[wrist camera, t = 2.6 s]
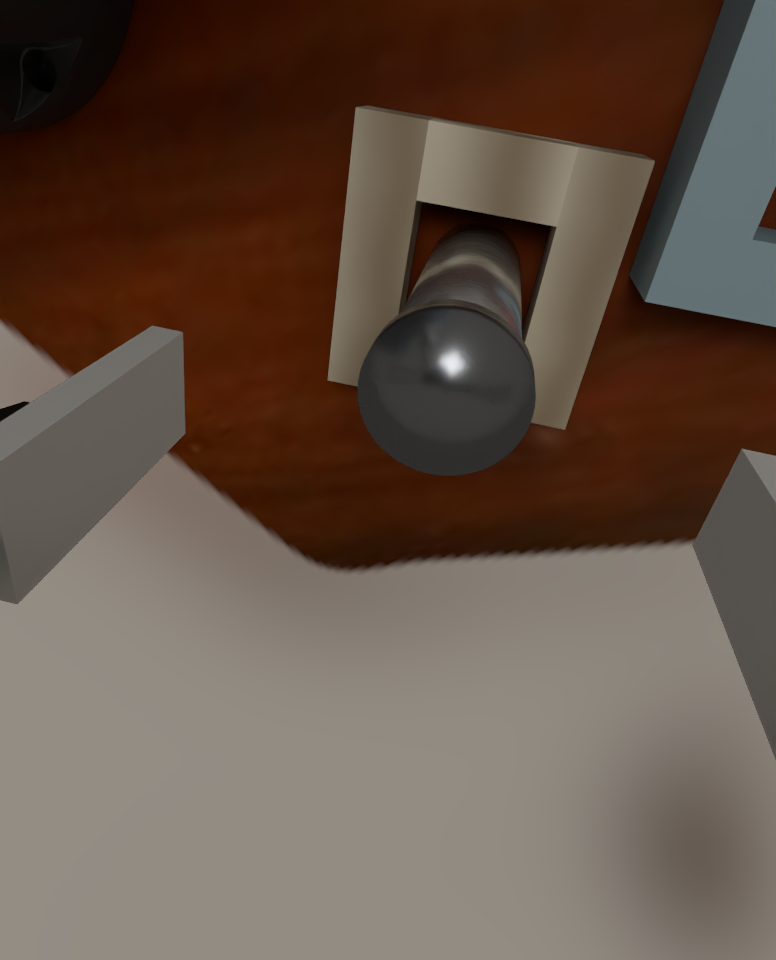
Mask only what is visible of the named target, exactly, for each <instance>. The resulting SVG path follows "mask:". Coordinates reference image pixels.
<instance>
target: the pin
mask: <svg viewBox="0 0 776 960" xmlns="http://www.w3.org/2000/svg"><path fill="white" fill-rule="evenodd" d="M357 394H358V404H359V409H360V413H361V416H362V418H363V421H364V424H365V425H366V427H367V429H368V431H369V433H370V434H371V436H372V437H373V439H374V440H375V441H376V442H377V444H378V445H379V446H380V447H381V448H382V449H383V450H384V451H385V452H386V453H388V454H389V455H390V456H391V457H393V458H394V459H395V460H397V461H398V462H400V463H402V464H404V465H406V466H408V467H410V468H412V469H415V470H417V471H421V472H424V473H428V474H434V475H443V476H455V475H464V474H470V473H474V472H477V471H480V470H483V469H485V468H488V467H490V466H492V465H494V464H495V463H497V462H499V461H500V460H502V459H503V458H504V457H506V456H507V455H508V454H509V453H510V452H511V451H512V450H513V449H514V448H515V447H516V446H517V445H518V444H519V443H520V441H521V440H522V439H523V437H524V435H525V434H526V432H527V430H528V428H529V426H530V423H531V420H532V418H533V414H534V409H535V401H536V391H535V376H534V367H533V362H532V358H531V356H530V353H529V350H528V348H527V346H526V344H525V343H524V341H523V339H522V313H521V274H520V258H519V254H518V251H517V248H516V246H515V244H514V242H513V241H512V240H511V238H510V237H509V236H508V235H507V234H506V233H505V232H504V231H503V230H501V229H500V228H498V227H496V226H494V225H492V224H489V223H485V222H467V223H463V224H460V225H458V226H456V227H454V228H452V229H450V230H449V231H448V232H446V233H445V234H444V235H443V236H442V237H441V238H440V240H439V241H438V242H437V244H436V246H435V247H434V249H433V251H432V253H431V255H430V257H429V259H428V261H427V263H426V265H425V267H424V269H423V271H422V273H421V275H420V277H419V279H418V281H417V283H416V285H415V287H414V289H413V291H412V293H411V295H410V296H409V298H408V300H407V302H406V304H405V306H404V308H403V310H402V312H401V313H400V314H399V315H397V316H396V317H395V318H393V319H392V320H391V321H390V322H389V323H388V324H387V325H386V326H385V327H384V328H383V329H382V330H381V332H380V333H379V335H378V336H377V337H376V339H375V341H374V343H373V344H372V346H371V348H370V350H369V352H368V353H367V355H366V357H365V359H364V361H363V364H362V367H361V370H360V374H359V379H358V389H357Z"/></svg>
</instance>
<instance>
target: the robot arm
mask: <svg viewBox="0 0 776 960" xmlns="http://www.w3.org/2000/svg"><path fill="white" fill-rule="evenodd" d="M132 5H133V0H0V134H4V133H16V132H25V131H32V130H36V129H40V128H44V127H47V126H49V125H52V124H55V123H57V122H59V121H61V120H63V119H64V118H66V117H68V116H69V115H71V114H73V113H74V112H75V111H76V110H78V109H79V108H80V107H82V106H83V105H84V104H85V103H86V102H87V101H88V100H89V99H90V98H91V97H92V96H93V95H94V93H95V92H96V91H97V90H98V89H99V87H100V86H101V85H102V83H103V82H104V80H105V79H106V77H107V76H108V74H109V72H110V70H111V69H112V67H113V65H114V63H115V61H116V59H117V57H118V54H119V52H120V49H121V47H122V44H123V41H124V38H125V35H126V32H127V28H128V25H129V20H130V16H131V11H132ZM184 434H185V400H184V358H183V332H180V331H175V330H170V329H165V328H161V327H156V326H151V327H150V328H148V329H146V330H145V331H143V332H142V333H140V334H138V335H137V336H135V337H134V338H132V339H131V340H129V341H127V342H126V343H124V344H123V345H121V346H119V347H118V348H116V349H115V350H113V351H112V352H110V353H108V354H107V355H105V356H104V357H102V358H100V359H99V360H97V361H96V362H94V363H93V364H91V365H89V366H88V367H86V368H85V369H83V370H81V371H80V372H78V373H77V374H75V375H74V376H72V377H70V378H69V379H67V380H66V381H64V382H63V383H61V384H59V385H58V386H56V387H55V388H53V389H51V390H50V391H48V392H47V393H45V394H44V395H42V396H40V397H39V398H37V399H36V400H34V401H33V402H31V403H29V402H21V403H18V404H15V405H12V406H9V407H6V408H2V409H0V600H2V601H6V602H10V603H14V604H18V603H19V602H20V601H21V600H22V599H23V598H24V597H25V596H26V595H27V594H28V593H29V592H30V591H31V590H32V589H33V588H34V587H35V586H36V585H37V584H38V583H39V582H40V581H41V580H42V579H43V578H44V577H45V576H46V575H47V574H48V573H49V572H50V571H51V570H52V569H53V568H54V566H55V565H57V564H58V563H59V561H60V560H61V559H62V558H63V557H64V556H65V555H66V554H67V553H68V552H69V551H70V550H71V549H72V548H73V547H74V546H75V545H76V544H77V543H78V542H79V541H80V540H81V539H82V538H83V537H84V536H85V535H86V534H87V533H88V532H89V531H90V530H91V529H92V528H93V527H94V526H95V525H96V524H97V523H98V522H99V521H100V520H101V519H102V518H103V517H104V516H105V515H106V514H107V512H108V511H110V510H111V508H113V506H114V505H116V503H117V502H118V501H119V500H120V499H121V498H122V497H123V496H124V495H125V494H126V493H127V492H128V491H129V490H130V489H131V488H132V487H133V486H134V485H135V484H136V483H137V482H138V481H139V480H140V479H141V478H142V477H143V476H144V475H145V474H146V473H147V472H148V471H149V470H150V469H151V468H152V467H153V466H154V465H155V464H156V463H157V462H158V461H159V460H160V459H161V458H162V457H163V456H164V455H165V454H166V453H167V452H168V451H169V450H170V449H171V448H172V446H173V445H174V444H175V443H176V442H177V441H178V440H179V439H180V438H181V437H182V436H183V435H184ZM693 547H694V550H695V552H696V555H697V558H698V560H699V563H700V565H701V568H702V570H703V573H704V576H705V578H706V581H707V583H708V586H709V589H710V591H711V594H712V596H713V599H714V601H715V604H716V607H717V609H718V612H719V614H720V617H721V619H722V622H723V624H724V627H725V630H726V632H727V635H728V638H729V640H730V643H731V645H732V648H733V650H734V653H735V656H736V658H737V661H738V663H739V666H740V668H741V671H742V673H743V676H744V679H745V681H746V684H747V687H748V689H749V692H750V694H751V697H752V700H753V702H754V705H755V707H756V710H757V713H758V715H759V718H760V720H761V723H762V725H763V728H764V730H765V733H766V736H767V738H768V741H769V744H770V746H771V749H772V751H773V754H774V756H775V759H776V456H773V455H769V454H764V453H759V452H754V451H749V450H745V449H741V451H740V453H739V455H738V457H737V459H736V461H735V463H734V465H733V467H732V469H731V471H730V473H729V475H728V477H727V479H726V481H725V483H724V485H723V487H722V489H721V491H720V493H719V495H718V497H717V498H716V500H715V502H714V504H713V506H712V508H711V510H710V512H709V514H708V516H707V518H706V520H705V522H704V524H703V526H702V528H701V530H700V532H699V534H698V536H697V538H696V540H695V542H694V544H693Z"/></svg>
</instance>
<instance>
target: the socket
mask: <svg viewBox="0 0 776 960" xmlns="http://www.w3.org/2000/svg"><path fill="white" fill-rule="evenodd" d="M775 186H776V0H724V2H723V5H722V8H721V11H720V14H719V17H718V20H717V23H716V26H715V28H714V31H713V34H712V37H711V40H710V43H709V46H708V49H707V52H706V54H705V57H704V60H703V63H702V66H701V69H700V72H699V75H698V78H697V80H696V83H695V86H694V89H693V92H692V95H691V98H690V101H689V104H688V106H687V109H686V112H685V115H684V118H683V121H682V124H681V127H680V130H679V132H678V135H677V138H676V141H675V144H674V147H673V150H672V153H671V156H670V158H669V161H668V164H667V167H666V170H665V173H664V176H663V179H662V182H661V184H660V187H659V190H658V193H657V196H656V199H655V202H654V205H653V208H652V210H651V213H650V216H649V219H648V222H647V225H646V228H645V231H644V234H643V236H642V239H641V242H640V245H639V248H638V251H637V254H636V257H635V260H634V262H633V265H632V268H631V271H630V274H629V276H630V278H631V279H632V281H633V283H634V284H635V286H636V288H637V289H638V291H639V293H640V294H641V296H642V298H643V299H644V301H645V302H649V303H654V304H660V305H665V306H670V307H675V308H680V309H685V310H690V311H696V312H701V313H706V314H711V315H716V316H721V317H727V318H732V319H737V320H742V321H747V322H752V323H757V324H763V325H768V326H773V327H776V230H774V229H769V228H764V227H758V225H759V223H760V221H761V219H762V216H763V214H764V212H765V209H766V207H767V205H768V202H769V200H770V198H771V196H772V193H773V191H774V189H775Z"/></svg>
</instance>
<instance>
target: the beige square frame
mask: <svg viewBox="0 0 776 960" xmlns="http://www.w3.org/2000/svg"><path fill="white" fill-rule="evenodd" d="M654 163H655V161H654V160H652V159H650V158H649V157H647V156H645V155H642V154H636V153H631V152H625V151H620V150H614V149H608V148H603V147H597V146H592V145H586V144H581V143H575V142H569V141H564V140H558V139H553V138H547V137H542V136H536V135H530V134H525V133H519V132H514V131H508V130H503V129H497V128H491V127H486V126H480V125H475V124H469V123H464V122H458V121H452V120H447V119H441V118H436V117H430V116H425V115H419V114H413V113H408V112H402V111H397V110H391V109H386V108H380V107H374V106H361V107H356V111H355V120H354V130H353V140H352V149H351V159H350V169H349V178H348V188H347V198H346V207H345V217H344V227H343V236H342V246H341V255H340V265H339V275H338V284H337V294H336V304H335V313H334V323H333V333H332V342H331V352H330V362H329V371H328V380H329V381H333V382H338V383H343V384H348V385H353V386H357V387H358V379H359V374H360V370H361V367H362V364H363V361H364V359H365V357H366V355H367V353H368V352H369V350H370V348H371V346H372V344H373V343H374V341H375V339H376V337H377V336H378V335H379V333H380V332H381V330H382V329H383V328H384V327H385V326H386V325H387V324H388V323H389V322H390V321H391V320H392V319H393V318H395V317H396V316H397V315H399V314H400V313H401V312H402V310H403V308H404V306H405V304H406V299H407V293H408V286H409V280H410V274H411V268H412V262H413V256H414V250H415V244H416V238H417V231H418V225H419V219H420V213H421V207H422V202H427V203H433V204H438V205H443V206H449V207H454V208H459V209H465V210H470V211H475V212H480V213H486V214H491V215H496V216H502V217H507V218H512V219H518V220H523V221H528V222H534V223H539V224H544V225H550V226H551V227H550V231H549V234H548V238H547V242H546V246H545V249H544V253H543V257H542V260H541V264H540V268H539V271H538V275H537V279H536V283H535V286H534V290H533V294H532V297H531V301H530V305H529V309H528V312H527V316H526V320H525V323H524V327H523V331H522V339H523V341H524V343H525V344H526V346H527V348H528V350H529V353H530V356H531V358H532V362H533V367H534V376H535V391H536V401H535V409H534V414H533V418H532V420H531V423H535V424H540V425H544V426H549V427H554V428H559V429H564V430H565V428H566V425H567V422H568V419H569V416H570V413H571V410H572V407H573V404H574V401H575V398H576V395H577V392H578V389H579V386H580V383H581V380H582V377H583V374H584V371H585V368H586V365H587V362H588V359H589V356H590V353H591V350H592V347H593V345H594V342H595V339H596V336H597V333H598V330H599V327H600V324H601V321H602V318H603V315H604V312H605V309H606V306H607V303H608V300H609V297H610V294H611V291H612V288H613V285H614V282H615V279H616V276H617V273H618V270H619V267H620V264H621V261H622V258H623V255H624V252H625V249H626V246H627V243H628V240H629V237H630V234H631V231H632V228H633V225H634V222H635V219H636V216H637V214H638V211H639V208H640V205H641V202H642V199H643V196H644V193H645V190H646V187H647V184H648V181H649V178H650V175H651V172H652V169H653V166H654Z"/></svg>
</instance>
